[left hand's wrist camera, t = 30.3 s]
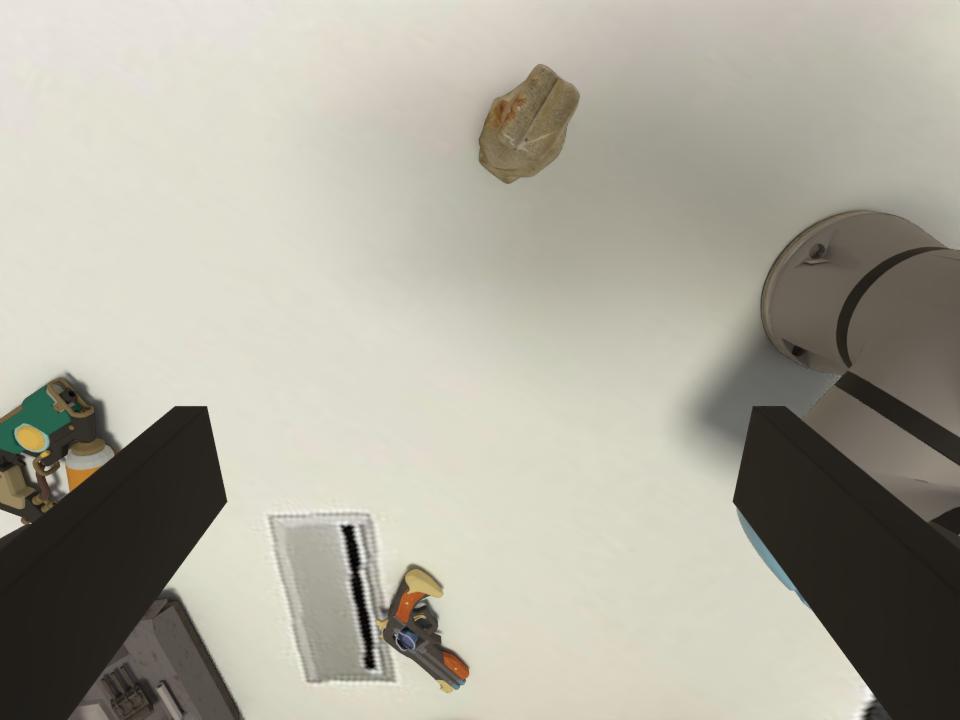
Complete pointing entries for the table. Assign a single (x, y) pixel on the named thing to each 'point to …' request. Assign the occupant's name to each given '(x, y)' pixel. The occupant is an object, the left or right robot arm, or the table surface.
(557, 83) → the sculpture
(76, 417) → the spray gun
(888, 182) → the table surface
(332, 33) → the table surface
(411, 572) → the toy gun
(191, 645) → the toy
